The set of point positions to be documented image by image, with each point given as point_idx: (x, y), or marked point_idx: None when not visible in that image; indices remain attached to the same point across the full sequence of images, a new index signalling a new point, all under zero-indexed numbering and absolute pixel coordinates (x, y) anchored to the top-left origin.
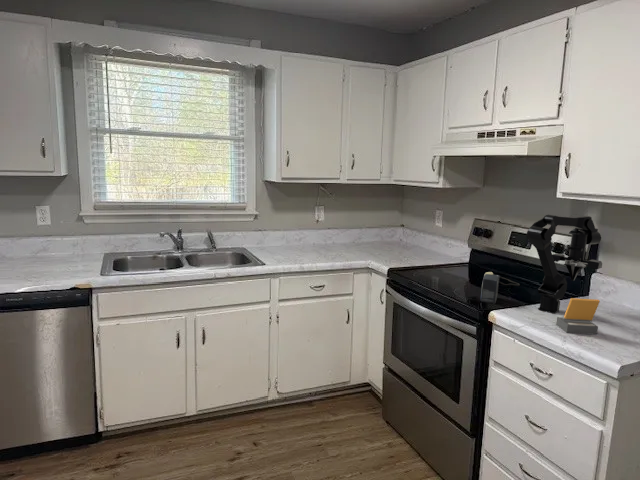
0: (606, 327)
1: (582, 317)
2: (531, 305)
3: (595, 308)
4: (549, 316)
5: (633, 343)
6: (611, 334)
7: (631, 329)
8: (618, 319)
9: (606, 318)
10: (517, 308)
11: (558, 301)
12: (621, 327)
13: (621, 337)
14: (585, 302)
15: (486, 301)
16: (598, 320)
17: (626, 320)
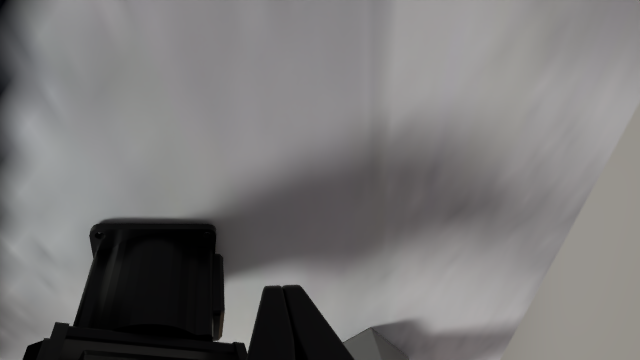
0: (456, 277)
1: None
2: (13, 254)
3: None
4: None
5: (508, 340)
6: (458, 326)
7: (563, 223)
8: (565, 105)
9: (493, 143)
10: (11, 355)
11: (217, 330)
12: (526, 230)
13: (486, 325)
14: None
15: None
16: (438, 214)
17: (611, 86)
